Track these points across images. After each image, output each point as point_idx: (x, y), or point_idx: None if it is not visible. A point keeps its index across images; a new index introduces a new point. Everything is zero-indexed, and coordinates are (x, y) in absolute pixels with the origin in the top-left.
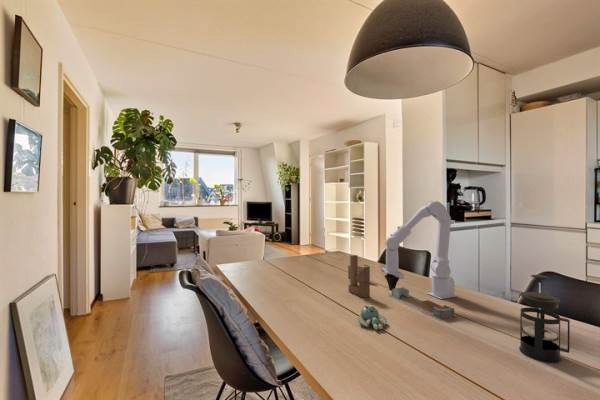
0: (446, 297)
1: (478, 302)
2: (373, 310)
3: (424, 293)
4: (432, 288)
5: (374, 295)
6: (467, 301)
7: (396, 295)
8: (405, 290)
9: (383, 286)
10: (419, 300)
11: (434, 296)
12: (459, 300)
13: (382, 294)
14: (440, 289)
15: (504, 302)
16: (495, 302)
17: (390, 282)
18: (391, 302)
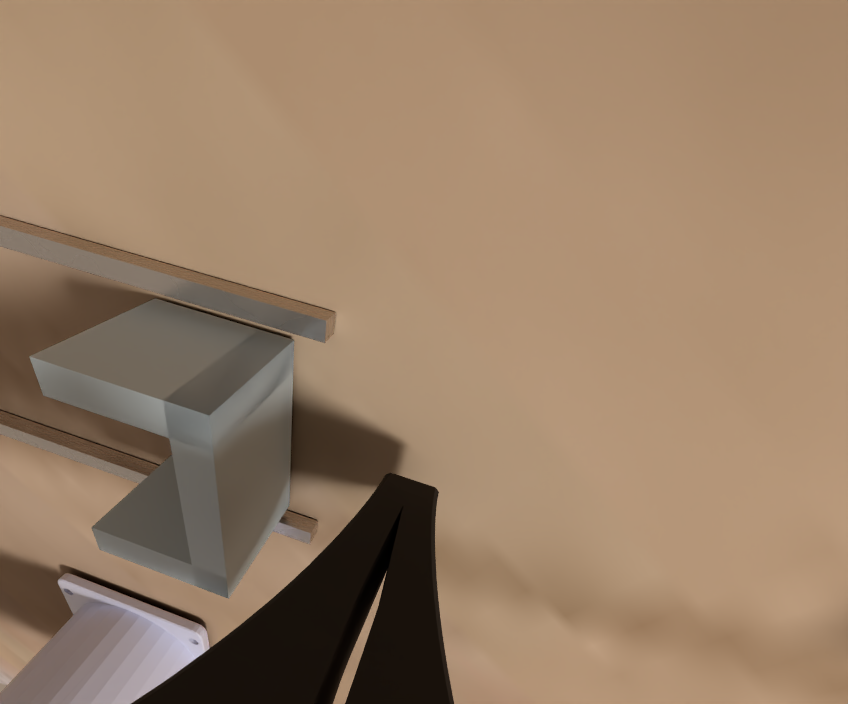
0: (71, 610)
1: (4, 627)
2: None
3: (234, 626)
4: (111, 690)
5: (528, 35)
6: (22, 615)
7: (150, 325)
8: (151, 526)
9: (720, 630)
10: (37, 430)
11: (127, 596)
12: (42, 610)
13: (454, 280)
14: (18, 679)
15: (3, 672)
16: (4, 658)
17: (294, 621)
18: (15, 21)
